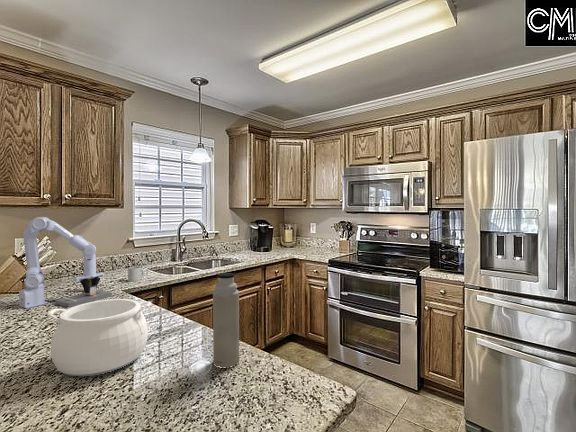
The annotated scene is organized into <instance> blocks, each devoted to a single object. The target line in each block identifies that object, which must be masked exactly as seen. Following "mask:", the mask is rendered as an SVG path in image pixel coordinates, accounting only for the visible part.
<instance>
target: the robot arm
mask: <svg viewBox="0 0 576 432" xmlns="http://www.w3.org/2000/svg"><path fill="white" fill-rule="evenodd" d="M42 231H50V232H51V231H52V232H55V233H57V234H58V235H60V236H61V237H63V238H65V239H67V240H68V242H69V245H70V246H73V247H74V248H75V249H77V250H78V251H80V252H81V253H82V254H83V259H82V261H83V275H80V276H77V277H74V282H77V283H78V282H79V283H80V284H81V285H82V287H83V290H84V291H85V293H89V283H90V281H88V280H87V279H91V284H92V285H96V289H97V287H98V284H99V283H100V280H101V277H105V272H98V273H97V257H96V256H97V255H96V252H97V247H96V245H95V244H93V243H91V241H87V240H86V239H85V238H84V237H83V236H82V235H79V234H72V233H71V232H70V231H68V230H67V229H66V228H65V227H63V226H62V225H61V224H59V223H58V222H56V221H54V220H52V219H50V218H49V217H46V216H38V217H34V218H33V219H31V221H29V222H28V225H27V226H26V228H25V230H23V233H22V236H23V237H22V238H23V246H24V252H25V263H26V273H25V279H24V281H23V282H24V285H25V288H23V289H20V290H19V292H18V304H19V305H18V307H21V308H24V309H29V308H33V307H38V306H43V305H47V304H49V302H48V301H46V300H45V284H44V283H43V282H44V281H45V278H46V276H45V274H44V273H43V269H42V268H41V266H40V265H41V264H40V256H39V255H40V254H39V248H38V240H37V239H38V238H37V236H38V235H39V234H40V233H41V232H42Z"/></svg>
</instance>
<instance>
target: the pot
mask: <svg viewBox="0 0 576 432" xmlns="http://www.w3.org/2000/svg"><path fill="white" fill-rule="evenodd" d="M151 306H152V302H151V301H149V300H148V301H144V302H142V303H141V304H140V302H138V301H137V300H135V299H129V298H126V299H125V298H111V299H100V300H96V301H92V302H88V303H84V304H80V305H77V306H73V307H68V308H67V309H65V308H53V309H51V310H49V311H48V312H47V313H46V314H47V315H46V316H47V317H50V318H53V319H54V320H55V321H56V322H57V326H56V329H55V330H54V332H53V334H52V336H51V340H50V343H49V344H50V357H51V360H52V362H53V364H54V366H55V368H56V370H58V371H59V372H60V373H62V374H64V375H65V374H66V376H68V375H69V377H73V376H83V377H82V378H85V377H84V376H90V377H95V376H94V375H97V376H100V375H99V374H102V375H104V374H103V373H106V374H108V373H107V372H110V371H113V372H115V371H114V370H116V371H118V370H117V369H119V368H121V369H123V368H125V367H127V366H129V365H131V364H132V363H133V361H134V362H135V361H136V360H137V359H138V358H139V357H140V356H141V354H143V352H144V349H146V346H147V341H148V336H149V335H148V331H149V330H148V329H149V328H148V322H147V319H146V317H145V315H144V313H143V312H142V311H143V310H144V309H148V308H150V307H151ZM57 312H61V313H60V314H59V317H57V316H56V315H55V314H54V313H57ZM130 363H131V364H130ZM128 364H129V365H128ZM126 365H127V366H126ZM124 366H125V367H124ZM122 367H123V368H122ZM119 370H120V369H119ZM110 373H111V372H110Z"/></svg>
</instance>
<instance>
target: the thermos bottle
mask: <svg viewBox="0 0 576 432" xmlns="http://www.w3.org/2000/svg"><path fill="white" fill-rule="evenodd" d="M217 277H218V279H217V283H216V284H215V285H214V291H213V292H212V327H213V328H212V333H213V334H212V336H213V337H212V340H213V341H212V342H213V344H212V345H213V346H212V348H213V350H212V353H213V357H212V358H213V363H214V364H215V365H216V366H220V367H229V366H232V365H235V364H237V363H238V362H240V290H238V289H237V288H238V285H237V283H235V278H234V277H235V273H232V272H223V273H219V274H218V275H217ZM214 364H213V365H214ZM238 364H239V363H238ZM238 364H237V365H238Z"/></svg>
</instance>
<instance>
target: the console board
mask: <svg viewBox="0 0 576 432" xmlns="http://www.w3.org/2000/svg"><path fill="white" fill-rule="evenodd" d="M112 296H113V294H112V292H111V291H110V292H109V291H106V290H100V289H97V291H96V294H93V295H87V294H85V293H80V294H76V295H70V296H68V297H64V298H58V299H55V301H54V304H55V305H57V306H61V307H64V308H65V307H66V308H72V307H74V306H77V305H81V304H85V303H89V302H95V301H100V300H104V299H107V298H110V297H112ZM106 297H107V298H106ZM99 299H100V300H99Z"/></svg>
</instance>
